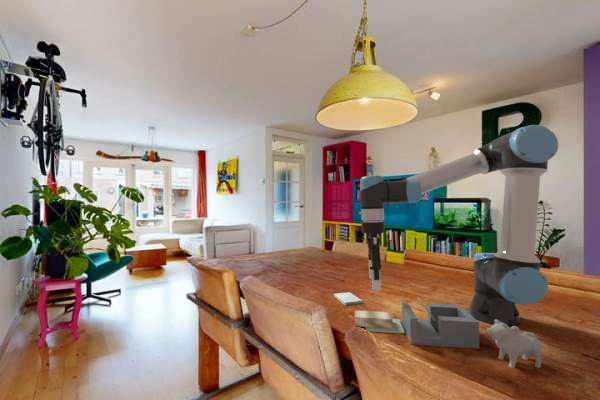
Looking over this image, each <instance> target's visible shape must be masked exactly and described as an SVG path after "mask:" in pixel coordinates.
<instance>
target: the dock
mask: <svg viewBox="0 0 600 400" xmlns="http://www.w3.org/2000/svg"><path fill="white" fill-rule="evenodd" d="M427 309H428V310H429V311H430V313H431V314H432V315H433V317H434V318H435V319H436V321H437V322H438V325H437V324H436V323H435V321H434V320H433V319H432V317H431V316H430V315H429V313H428V312H427V319H423V318H421V319H420V318H418V317H417V316H416V314H415V312H414V311H413V309H412V307H411V306H410V304H409V302H405V301H401V325H402V327H403V329H404V332H405V334H406V337H407V339H408V341H409V345H417V346H418V345H419V346H431V347H432V346H433V347H447V348H461V349H462V348H463V349H473V350H474V349H475V350H480V321H479V320H478V319H476V318H474V317H473V316H471V315H470V314H469V311H467V310H466V308H464V307H463V306H462V305H461V304H450V303H449V304H448V303H433V302H432V303H429V302H427Z"/></svg>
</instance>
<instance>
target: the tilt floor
mask: <svg viewBox="0 0 600 400" xmlns="http://www.w3.org/2000/svg"><path fill="white" fill-rule="evenodd" d="M416 299H417V300H418V301H419V303H420V304H421V306H422V307H423V308H424V309H425V311H426V312H427V314H428V313H429V315H430V316H431V317H432V319H433V320H434V321H435V323H436V324H437V325H438V322H437V321H436V319H435V318H434V317H433V315H432V314H431V313H430V311H429V310H428V306H426V304H425V303H424V302H423V300H422V299H421V298H420V297H419V296H417V297H416Z"/></svg>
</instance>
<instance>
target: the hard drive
mask: <svg viewBox="0 0 600 400" xmlns="http://www.w3.org/2000/svg"><path fill="white" fill-rule="evenodd" d="M333 297H334V298H335V299H337V300H338V301H339V302H341V303H342V304H343V305H344V306H351V305H352V306H353V305H360V304H361V305H362V304H364V300H362V299H360V297H358V296H356V295H355V294H354V293H352V292H349V291H348V292H339V293H333Z"/></svg>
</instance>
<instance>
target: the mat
mask: <svg viewBox="0 0 600 400" xmlns="http://www.w3.org/2000/svg"><path fill="white" fill-rule="evenodd" d="M392 319H393V329H392V328H376V327H364V328H365V330H366V329H367V330H369V331H371V332H372V333H384V334H385V333H387V334H399V335H403V334H404V335H405V334H406V332H405V330H404V328H403V325H402V321H401V320H400V319H398V318H392ZM371 332H370V333H371Z"/></svg>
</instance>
